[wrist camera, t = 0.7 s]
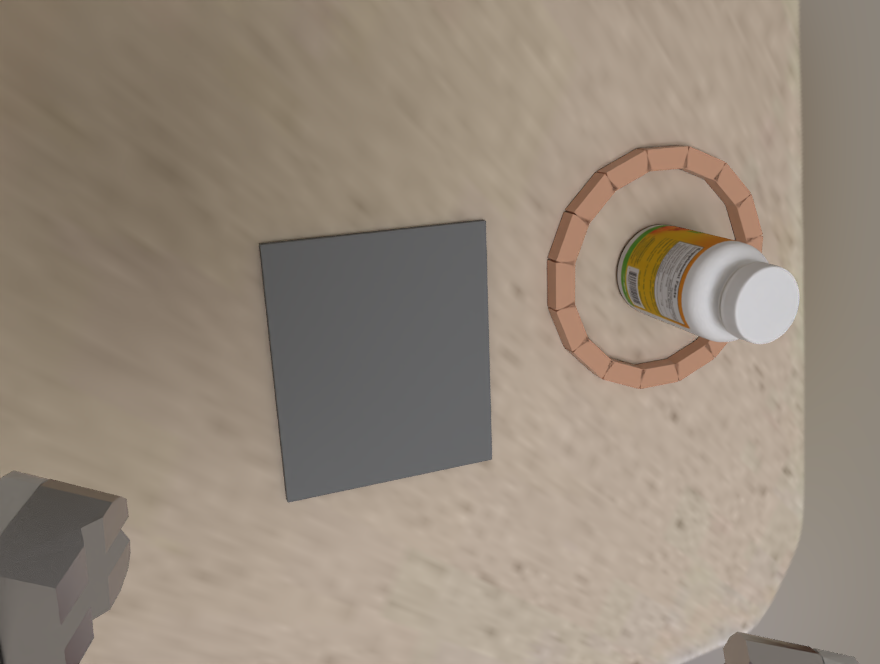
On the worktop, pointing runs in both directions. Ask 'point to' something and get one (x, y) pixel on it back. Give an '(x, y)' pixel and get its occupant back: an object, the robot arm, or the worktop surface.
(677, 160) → the segmented terracotta ring
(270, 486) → the worktop surface
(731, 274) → the supplement bottle
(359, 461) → the mat
